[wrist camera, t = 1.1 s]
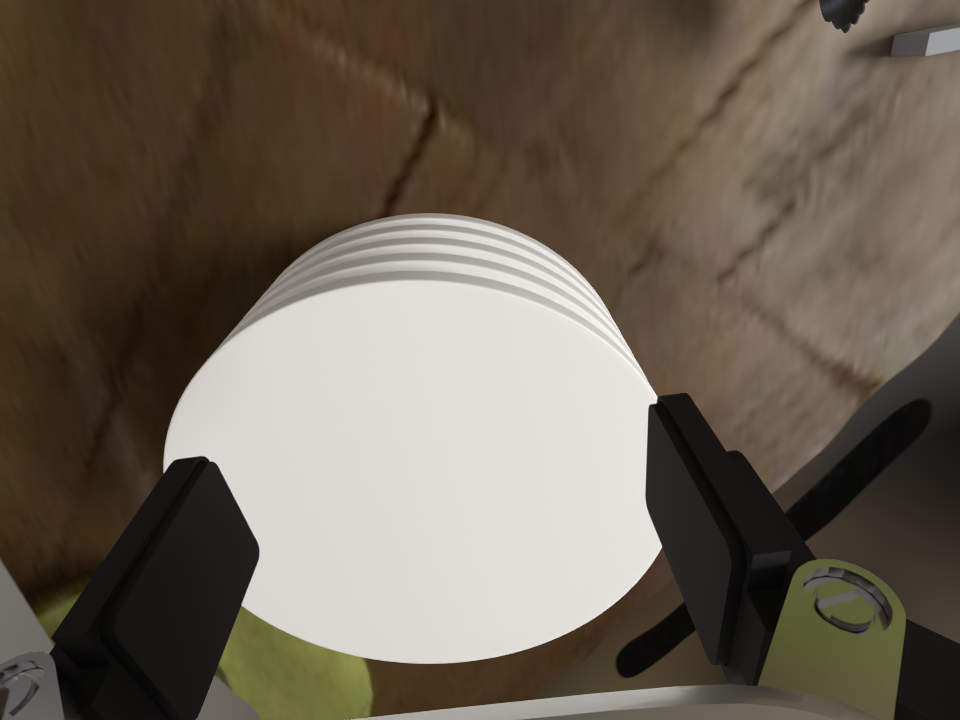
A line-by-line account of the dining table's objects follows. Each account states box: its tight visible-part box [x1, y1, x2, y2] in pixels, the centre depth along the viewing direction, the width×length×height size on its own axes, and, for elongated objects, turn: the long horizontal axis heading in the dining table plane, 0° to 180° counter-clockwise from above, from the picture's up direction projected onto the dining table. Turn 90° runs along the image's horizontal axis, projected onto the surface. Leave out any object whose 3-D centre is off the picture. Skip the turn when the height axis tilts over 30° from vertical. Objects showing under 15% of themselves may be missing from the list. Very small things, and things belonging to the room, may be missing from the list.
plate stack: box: [163, 213, 662, 664], centre depth 34 cm, size 28×28×12 cm
